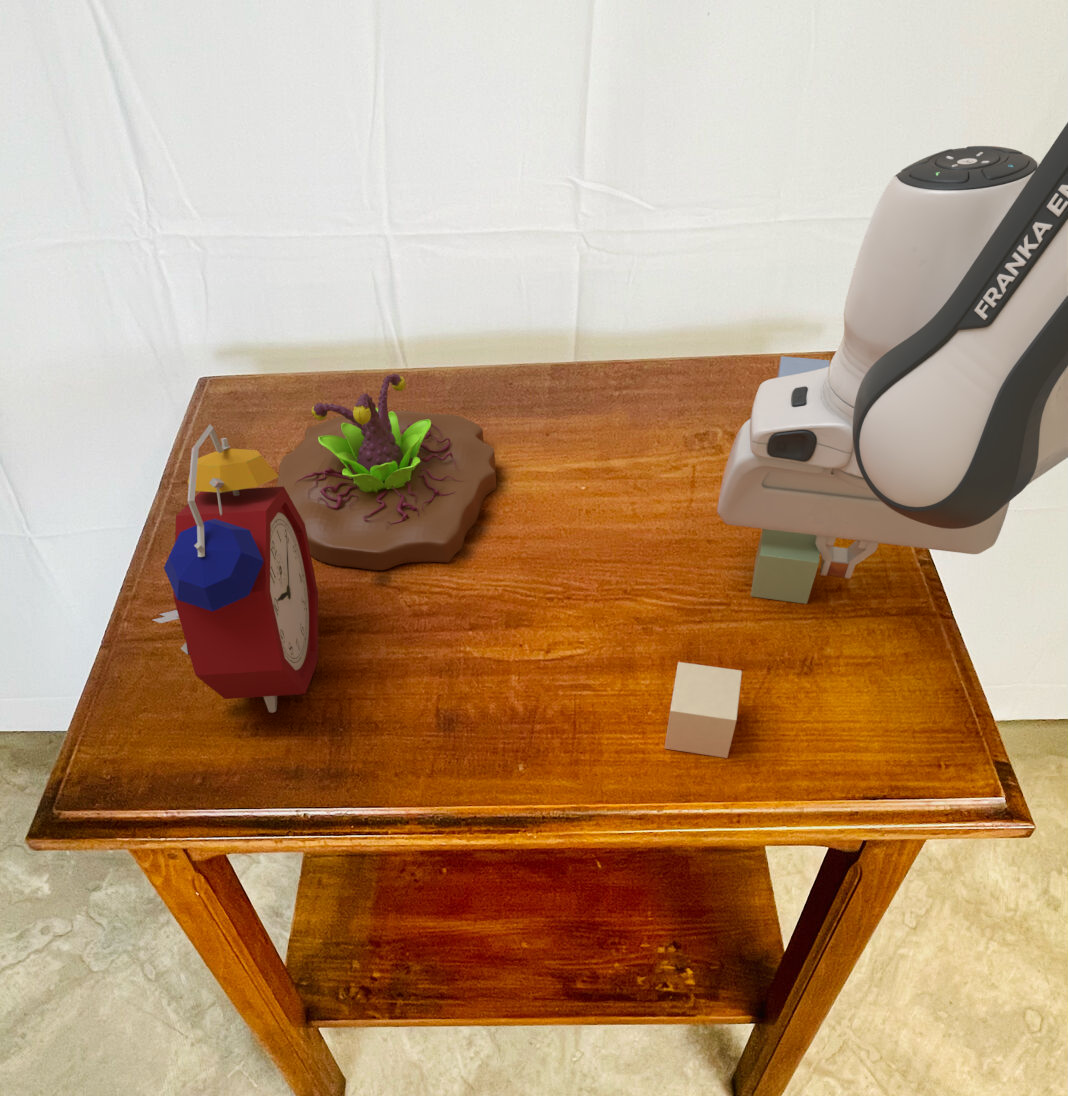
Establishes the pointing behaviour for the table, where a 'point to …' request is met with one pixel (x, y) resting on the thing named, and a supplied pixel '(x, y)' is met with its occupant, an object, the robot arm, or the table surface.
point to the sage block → (785, 566)
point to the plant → (387, 483)
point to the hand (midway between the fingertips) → (834, 571)
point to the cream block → (703, 709)
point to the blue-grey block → (799, 365)
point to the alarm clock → (243, 579)
